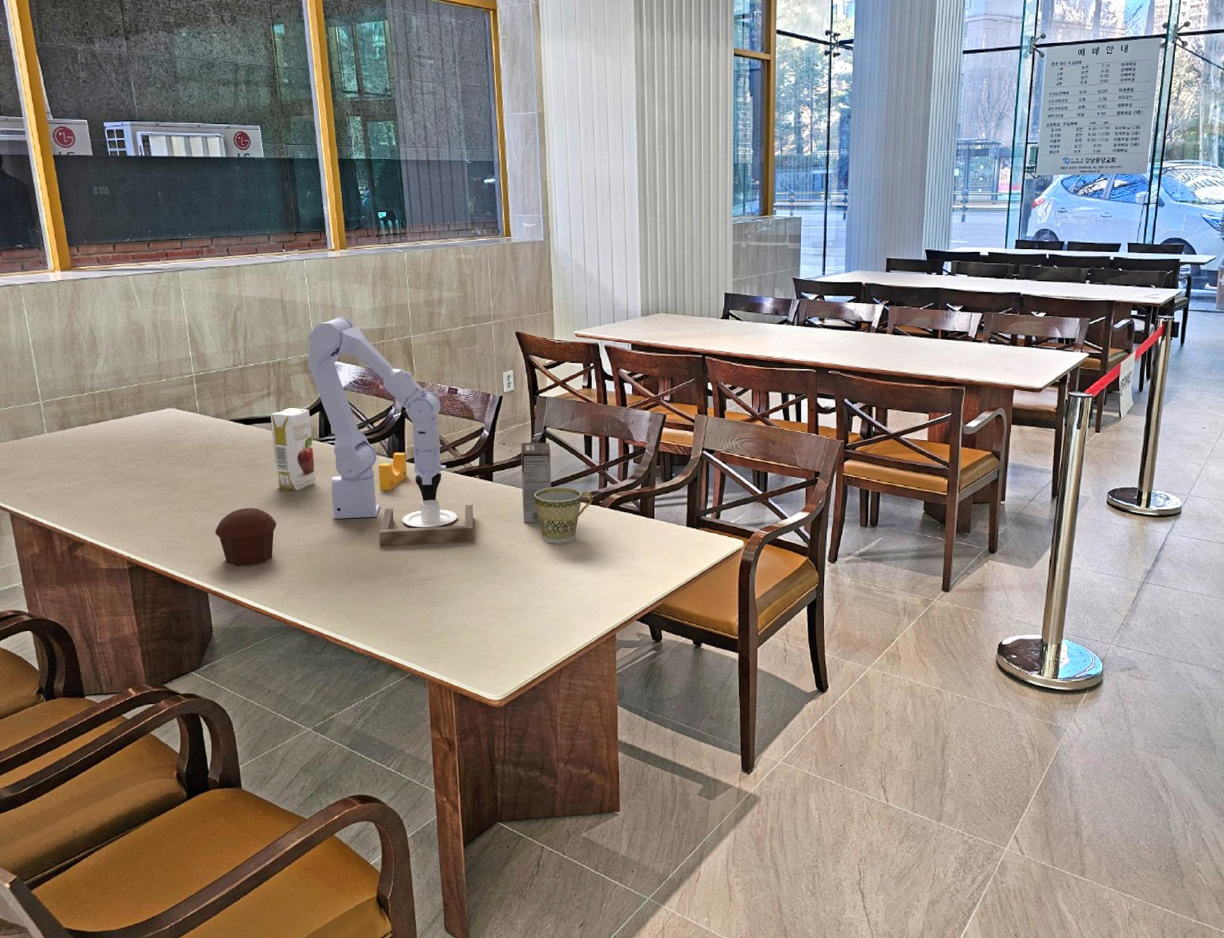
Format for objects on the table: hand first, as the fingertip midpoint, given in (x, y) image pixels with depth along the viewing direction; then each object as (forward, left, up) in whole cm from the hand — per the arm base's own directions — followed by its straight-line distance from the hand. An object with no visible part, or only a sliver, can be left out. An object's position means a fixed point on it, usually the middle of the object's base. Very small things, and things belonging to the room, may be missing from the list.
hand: (430, 506), depth 222 cm
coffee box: (+24, -4, -2) cm, 24 cm away
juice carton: (-34, +28, -2) cm, 44 cm away
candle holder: (0, -3, -3) cm, 4 cm away
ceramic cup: (+29, -19, -2) cm, 35 cm away
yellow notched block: (-11, +27, -3) cm, 30 cm away
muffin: (-35, -22, -2) cm, 41 cm away
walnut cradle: (0, -10, -2) cm, 10 cm away
